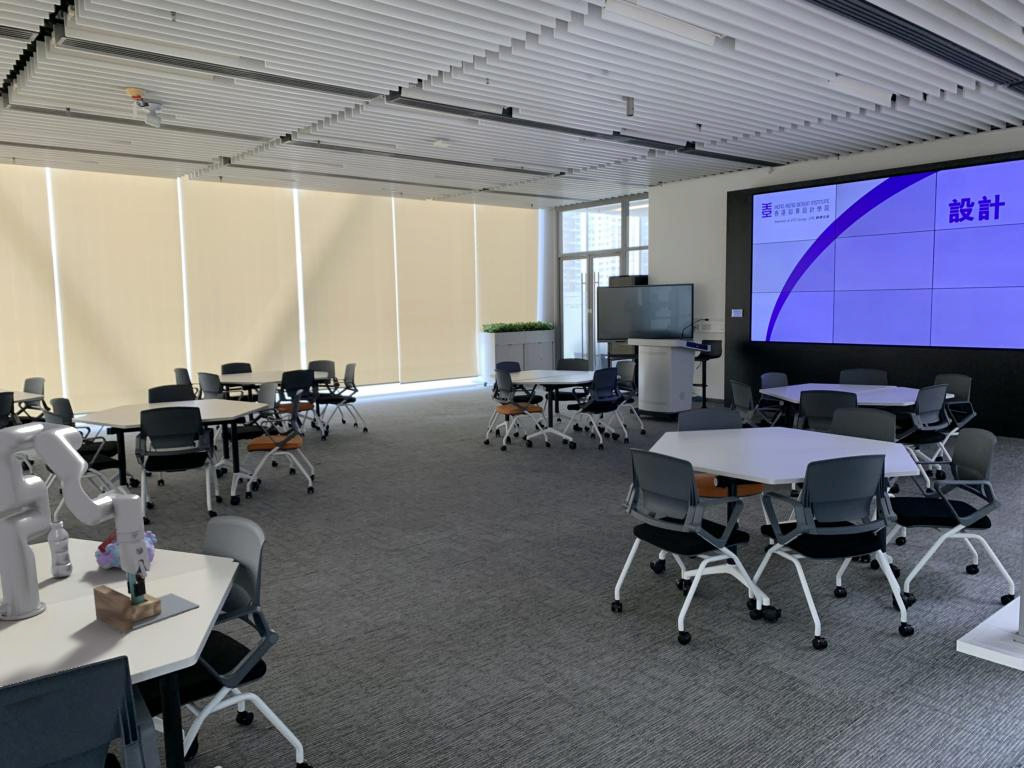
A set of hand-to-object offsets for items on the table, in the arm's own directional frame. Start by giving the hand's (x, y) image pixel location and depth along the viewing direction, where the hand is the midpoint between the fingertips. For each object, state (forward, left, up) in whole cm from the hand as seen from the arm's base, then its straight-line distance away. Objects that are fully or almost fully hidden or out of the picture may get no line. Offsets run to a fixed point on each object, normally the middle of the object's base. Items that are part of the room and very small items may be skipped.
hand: (137, 593), depth 233 cm
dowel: (0, 0, -4) cm, 4 cm away
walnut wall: (-7, 0, -7) cm, 10 cm away
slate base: (+3, 0, -7) cm, 8 cm away
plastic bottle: (+1, +61, -8) cm, 62 cm away
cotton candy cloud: (+20, +53, -8) cm, 57 cm away
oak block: (0, 0, -7) cm, 7 cm away
